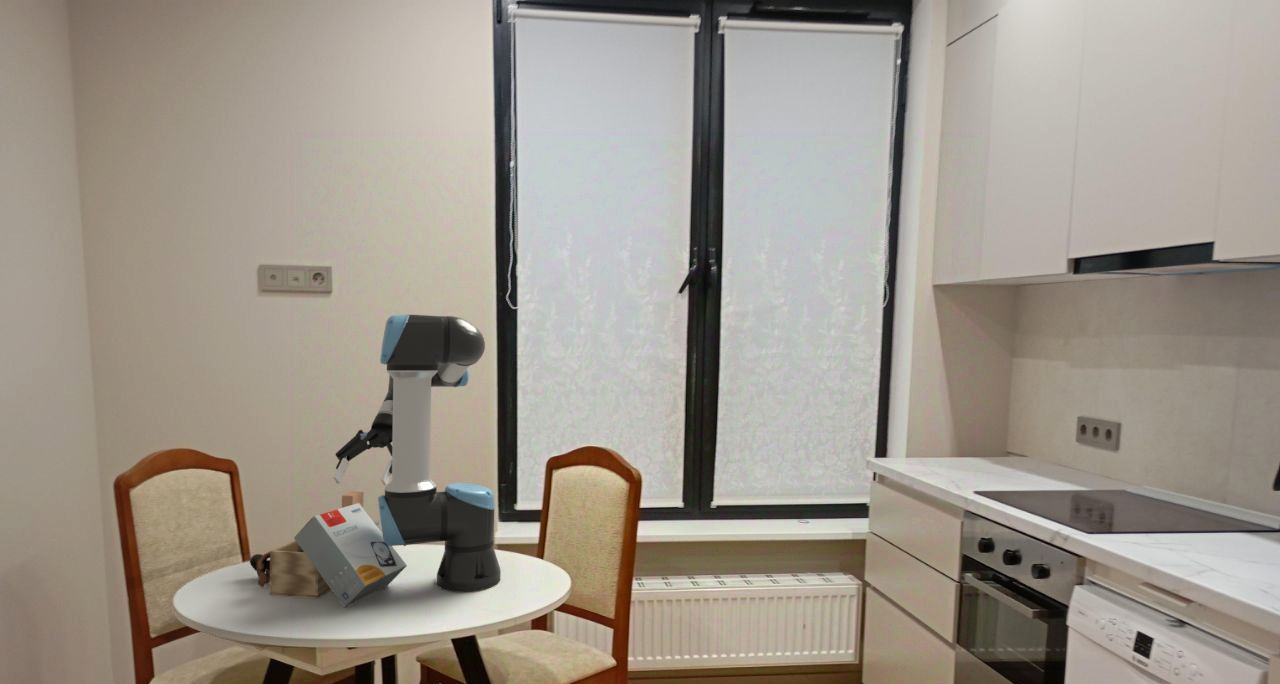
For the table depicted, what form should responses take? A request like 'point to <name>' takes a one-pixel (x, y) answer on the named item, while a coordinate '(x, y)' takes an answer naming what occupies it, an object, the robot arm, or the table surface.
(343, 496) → the lid
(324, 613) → the table surface
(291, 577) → the carton
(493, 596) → the table surface
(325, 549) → the hard drive box
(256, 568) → the pottery mug
